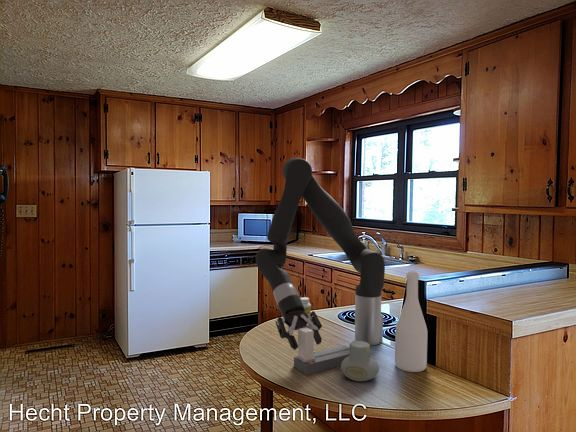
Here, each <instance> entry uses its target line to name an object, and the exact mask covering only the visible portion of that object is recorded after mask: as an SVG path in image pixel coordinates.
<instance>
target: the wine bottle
mask: <svg viewBox="0 0 576 432" xmlns="http://www.w3.org/2000/svg"><path fill="white" fill-rule="evenodd" d="M419 276H420V274H419V272H418V271H417V270H408V271H407V272H406V279H407V280H406V296H405V301H404V304H403V307H402V309H401V312H400V314H399V316H398V320H397V322H396V326H395V331H394V333H395V337H394V339H395V341H394V342H395V343H394V364H395V367H397V368H398V369H400V370H401V371H405V372H408V373H421V372H423V371H425V370H426V369H427V365H428V328H427V324H426V321H425V318H424V314H423V311H422V308H421V305H420V304H421V303H420V302H419V278H420V277H419Z"/></svg>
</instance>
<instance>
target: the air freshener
mask: <svg viewBox="0 0 576 432" xmlns="http://www.w3.org/2000/svg"><path fill="white" fill-rule="evenodd" d="M349 348H350V356H348V357H346V358H345V359H344V360H343V361H342V363H341V366H340V370H341V372H342V374H343V375H344V376H345V377H347V379H350V380H352V381H354V382H358V383H360V382H361V383H362V382H367V381H370V380H372V379H374V378H376V376H377V375H378V374H379V370H380V369H379V365H378V363H377V361H376V360H375V359H374V358H373V357H371V345H369V343H367V342H364V341H355V340H354V341H352V342H350V343H349Z"/></svg>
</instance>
